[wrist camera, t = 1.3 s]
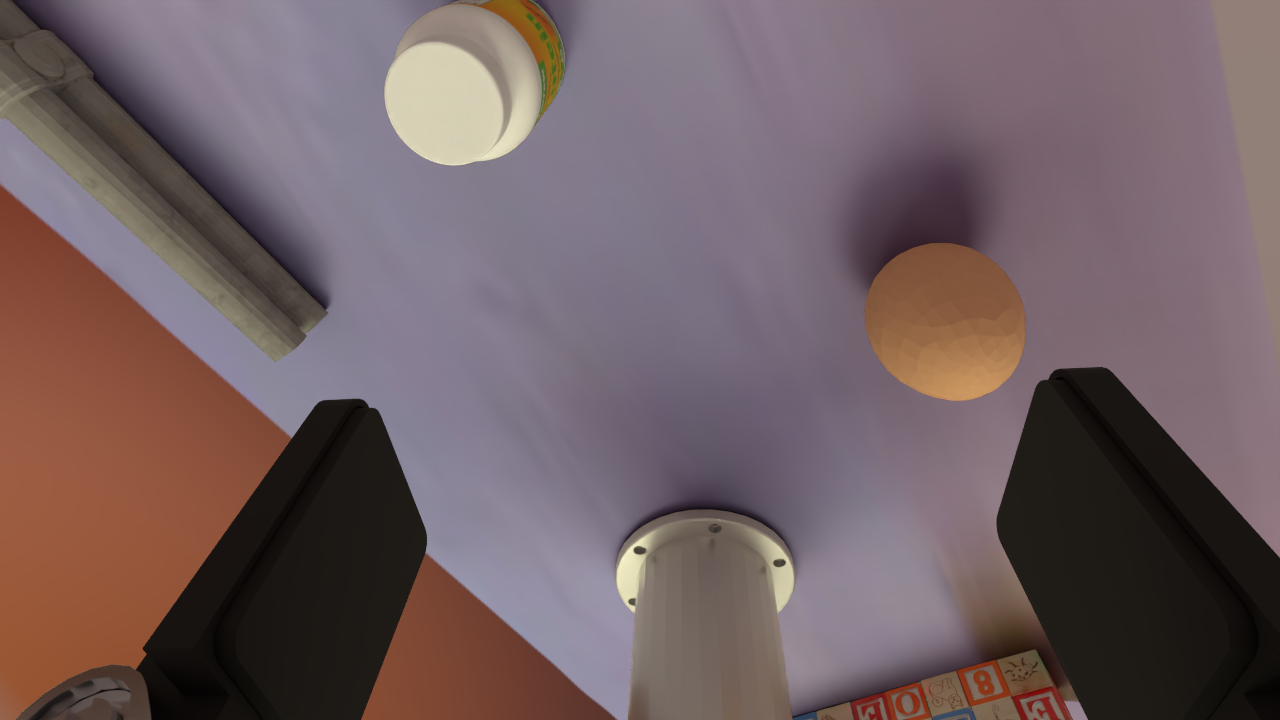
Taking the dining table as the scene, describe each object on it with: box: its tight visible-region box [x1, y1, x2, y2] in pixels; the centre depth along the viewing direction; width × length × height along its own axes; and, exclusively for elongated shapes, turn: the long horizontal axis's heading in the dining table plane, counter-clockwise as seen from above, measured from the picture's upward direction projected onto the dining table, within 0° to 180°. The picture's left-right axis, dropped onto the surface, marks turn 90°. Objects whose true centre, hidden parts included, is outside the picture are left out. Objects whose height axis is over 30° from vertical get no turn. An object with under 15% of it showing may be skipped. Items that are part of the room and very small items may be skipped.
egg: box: [864, 243, 1026, 401], centre depth 31 cm, size 7×7×9 cm
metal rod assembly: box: [0, 0, 328, 362], centre depth 31 cm, size 26×3×5 cm, turn 33°
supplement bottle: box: [384, 0, 565, 165], centre depth 26 cm, size 5×5×10 cm
